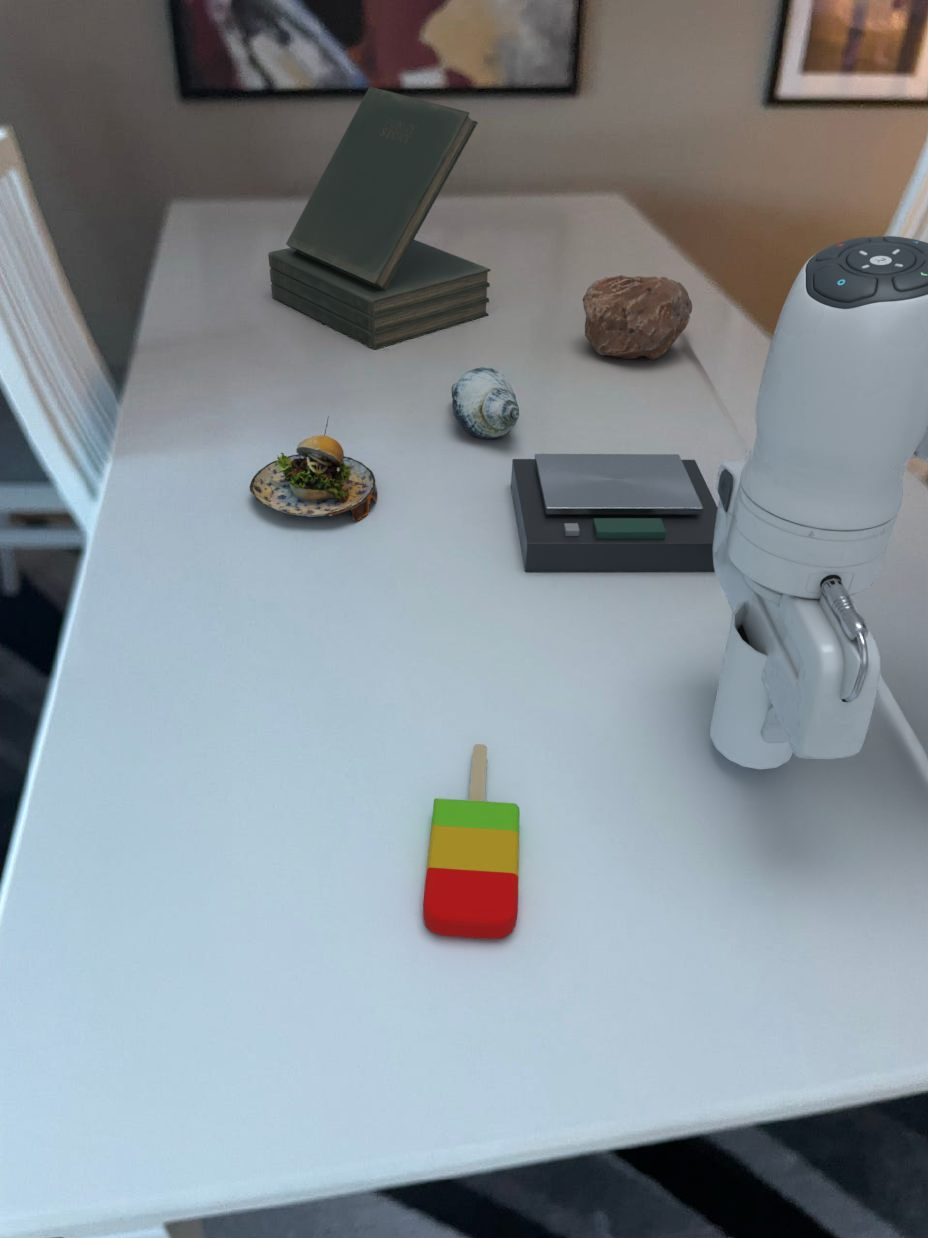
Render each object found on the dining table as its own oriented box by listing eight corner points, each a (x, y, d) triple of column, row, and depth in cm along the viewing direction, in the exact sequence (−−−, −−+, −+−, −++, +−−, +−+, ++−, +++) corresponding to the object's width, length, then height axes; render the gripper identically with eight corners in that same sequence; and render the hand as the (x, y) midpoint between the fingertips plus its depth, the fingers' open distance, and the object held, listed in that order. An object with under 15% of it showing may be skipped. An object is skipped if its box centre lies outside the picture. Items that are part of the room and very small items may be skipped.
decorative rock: (692, 347, 128) (706, 268, 122) (668, 379, 120) (682, 297, 114) (595, 328, 132) (604, 251, 126) (566, 358, 124) (574, 277, 118)
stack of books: (271, 297, 138) (254, 96, 123) (384, 270, 148) (380, 81, 133) (373, 350, 124) (367, 131, 109) (488, 315, 135) (498, 111, 120)
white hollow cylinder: (792, 787, 66) (831, 677, 59) (692, 755, 68) (720, 644, 61) (809, 721, 70) (847, 612, 64) (715, 692, 72) (743, 584, 66)
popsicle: (420, 938, 57) (420, 918, 56) (440, 752, 69) (440, 732, 68) (516, 944, 57) (518, 924, 56) (519, 756, 69) (521, 737, 68)
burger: (229, 491, 96) (220, 420, 92) (331, 456, 102) (327, 388, 98) (297, 546, 89) (290, 472, 84) (402, 504, 95) (401, 433, 91)
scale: (690, 485, 100) (696, 451, 97) (728, 571, 88) (736, 535, 85) (510, 485, 99) (512, 451, 96) (524, 572, 87) (527, 535, 85)
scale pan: (677, 460, 97) (679, 454, 96) (702, 514, 89) (703, 507, 88) (534, 459, 96) (534, 453, 96) (545, 514, 88) (546, 507, 88)
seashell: (505, 417, 114) (501, 467, 104) (447, 388, 112) (437, 436, 103) (532, 370, 110) (530, 417, 101) (472, 340, 109) (464, 384, 99)
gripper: (934, 643, 50) (863, 825, 59) (805, 450, 67) (763, 614, 75) (812, 646, 50) (757, 828, 59) (712, 450, 66) (680, 616, 75)
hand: (760, 706), depth 67 cm, fingers closed on white hollow cylinder, 4 cm apart
